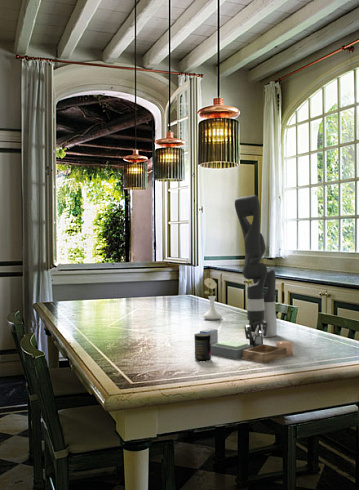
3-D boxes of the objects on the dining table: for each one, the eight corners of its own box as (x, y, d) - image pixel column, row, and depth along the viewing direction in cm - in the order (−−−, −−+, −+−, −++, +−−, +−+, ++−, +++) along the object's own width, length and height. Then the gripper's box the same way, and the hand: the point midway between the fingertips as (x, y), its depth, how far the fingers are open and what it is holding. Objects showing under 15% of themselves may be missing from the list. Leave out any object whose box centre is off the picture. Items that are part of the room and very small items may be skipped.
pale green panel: (227, 342, 222) (227, 340, 222) (248, 346, 214) (247, 343, 214) (215, 345, 217) (215, 343, 217) (236, 349, 209) (236, 346, 209)
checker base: (227, 349, 225) (227, 341, 224) (253, 354, 214) (253, 345, 214) (210, 354, 217) (210, 345, 217) (236, 359, 207) (236, 350, 207)
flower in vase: (225, 319, 305) (225, 278, 305) (210, 321, 299) (210, 279, 298) (212, 316, 316) (211, 276, 316) (197, 318, 310) (196, 278, 309)
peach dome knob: (282, 351, 218) (281, 340, 218) (296, 354, 213) (296, 342, 213) (272, 354, 213) (272, 342, 213) (287, 357, 208) (286, 345, 208)
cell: (255, 349, 224) (255, 333, 224) (263, 350, 221) (263, 334, 221) (249, 350, 221) (249, 334, 221) (257, 352, 218) (257, 335, 218)
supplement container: (210, 362, 203) (209, 336, 203) (193, 361, 204) (193, 336, 204) (212, 358, 210) (211, 333, 210) (196, 357, 211) (195, 332, 211)
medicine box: (210, 347, 231) (209, 328, 230) (218, 348, 228) (217, 329, 228) (199, 350, 225) (199, 330, 224) (207, 351, 222) (207, 331, 222)
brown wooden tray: (242, 358, 207) (242, 350, 207) (263, 352, 218) (263, 344, 218) (265, 363, 199) (265, 354, 199) (286, 356, 210) (286, 348, 210)
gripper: (258, 306, 229) (259, 343, 229) (238, 310, 218) (239, 349, 219) (272, 307, 223) (273, 346, 224) (252, 311, 213) (253, 351, 213)
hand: (256, 347), depth 221 cm, fingers open, 5 cm apart
